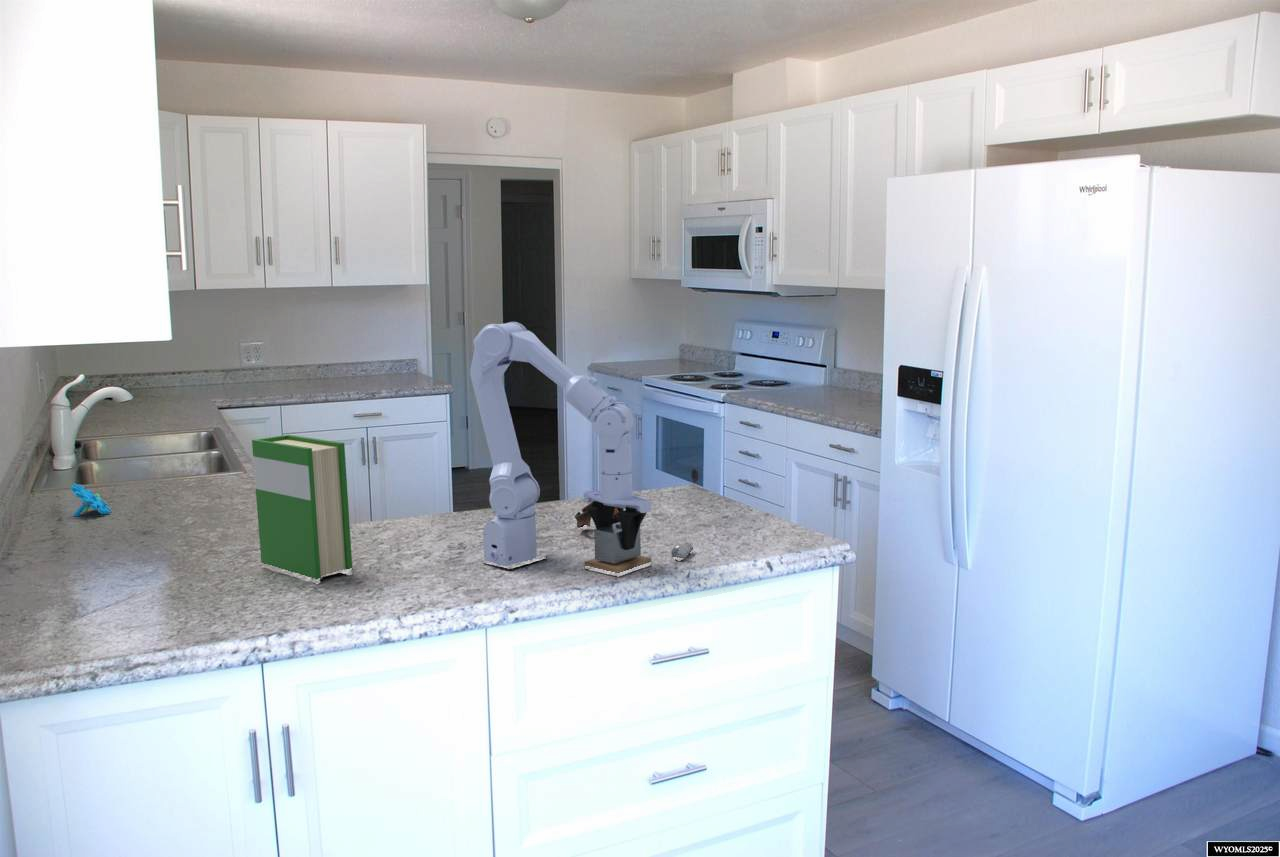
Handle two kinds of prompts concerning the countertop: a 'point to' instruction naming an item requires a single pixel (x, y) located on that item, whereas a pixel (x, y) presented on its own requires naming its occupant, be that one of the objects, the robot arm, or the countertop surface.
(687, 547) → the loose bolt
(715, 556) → the countertop surface
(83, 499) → the blue fuzzy irregular piece
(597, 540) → the block
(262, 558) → the hardback book
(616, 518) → the brown irregular piece
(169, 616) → the countertop surface
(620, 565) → the stand
